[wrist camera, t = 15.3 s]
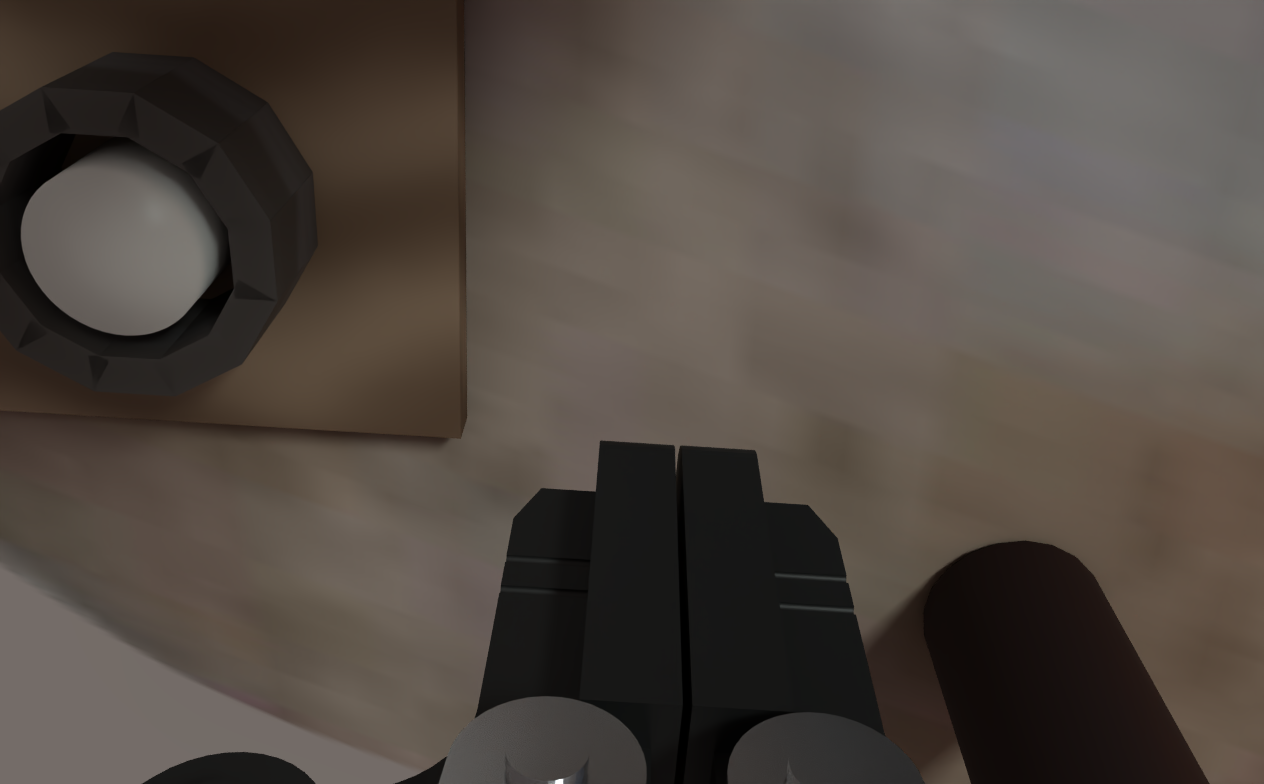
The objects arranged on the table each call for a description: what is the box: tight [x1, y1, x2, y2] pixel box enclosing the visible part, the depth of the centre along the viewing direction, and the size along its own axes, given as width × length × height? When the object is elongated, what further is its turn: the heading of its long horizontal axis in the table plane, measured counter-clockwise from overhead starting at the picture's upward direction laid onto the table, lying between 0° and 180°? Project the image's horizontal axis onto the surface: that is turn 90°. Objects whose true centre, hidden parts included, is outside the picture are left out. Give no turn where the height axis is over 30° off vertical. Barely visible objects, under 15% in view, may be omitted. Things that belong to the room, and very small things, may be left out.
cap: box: [21, 137, 231, 335], centre depth 34 cm, size 5×5×4 cm
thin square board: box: [0, 0, 467, 439], centre depth 35 cm, size 16×18×6 cm
